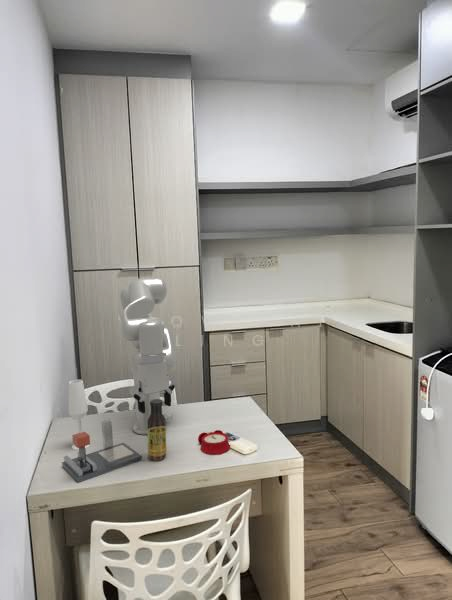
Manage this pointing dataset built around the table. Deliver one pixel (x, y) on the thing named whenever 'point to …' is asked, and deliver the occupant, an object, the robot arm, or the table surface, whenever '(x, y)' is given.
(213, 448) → the alarm clock
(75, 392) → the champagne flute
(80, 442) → the press lever
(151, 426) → the sauce bottle
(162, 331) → the robot arm
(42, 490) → the table surface
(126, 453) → the base
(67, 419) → the table surface
